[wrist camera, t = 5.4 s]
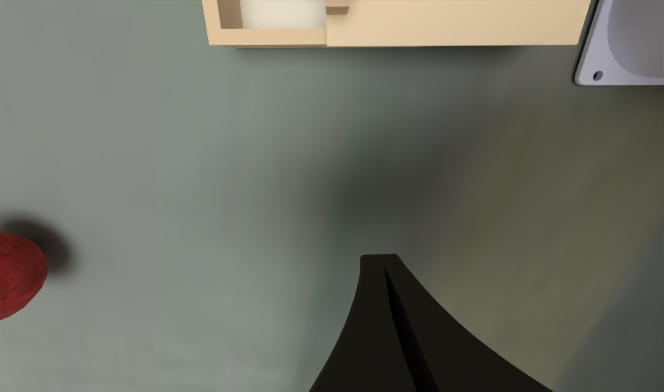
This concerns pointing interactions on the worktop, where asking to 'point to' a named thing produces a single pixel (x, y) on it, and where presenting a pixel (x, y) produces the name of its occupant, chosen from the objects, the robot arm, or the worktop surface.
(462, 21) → the lid
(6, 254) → the onion
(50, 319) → the worktop surface
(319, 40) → the base
